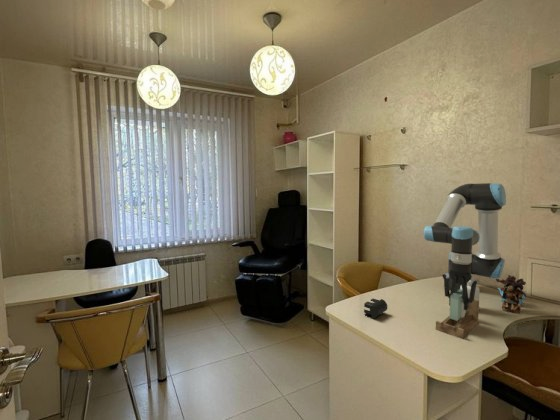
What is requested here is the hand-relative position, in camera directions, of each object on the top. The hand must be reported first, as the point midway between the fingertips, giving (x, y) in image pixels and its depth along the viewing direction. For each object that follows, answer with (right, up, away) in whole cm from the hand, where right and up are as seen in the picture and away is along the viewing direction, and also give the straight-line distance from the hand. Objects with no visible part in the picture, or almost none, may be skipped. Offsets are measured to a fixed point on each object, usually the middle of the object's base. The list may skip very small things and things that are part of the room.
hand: (457, 314), depth 122 cm
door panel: (0, 0, 0) cm, 0 cm away
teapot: (+44, -4, +26) cm, 51 cm away
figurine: (+36, -4, +16) cm, 40 cm away
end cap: (-33, -4, +10) cm, 35 cm away
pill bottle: (+17, -4, +18) cm, 25 cm away
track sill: (0, -5, 0) cm, 5 cm away
